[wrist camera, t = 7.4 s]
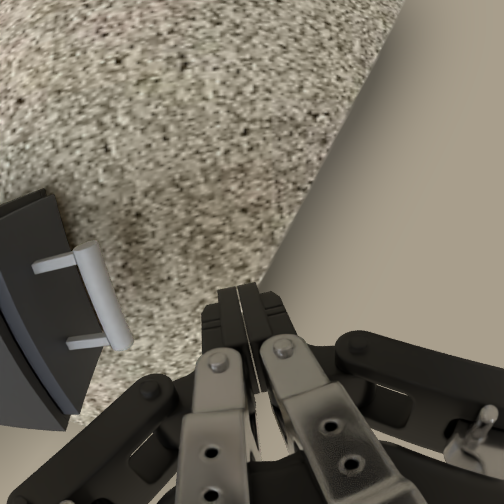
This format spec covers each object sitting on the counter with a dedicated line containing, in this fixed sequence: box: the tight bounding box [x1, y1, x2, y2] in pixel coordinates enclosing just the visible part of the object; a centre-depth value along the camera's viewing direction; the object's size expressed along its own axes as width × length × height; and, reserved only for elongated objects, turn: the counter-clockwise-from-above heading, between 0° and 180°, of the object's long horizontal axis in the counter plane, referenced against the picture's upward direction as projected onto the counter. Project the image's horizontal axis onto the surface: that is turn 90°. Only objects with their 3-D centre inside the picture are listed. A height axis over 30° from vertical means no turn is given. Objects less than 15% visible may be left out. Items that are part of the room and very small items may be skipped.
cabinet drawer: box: [0, 194, 134, 415], centre depth 15 cm, size 17×11×8 cm
